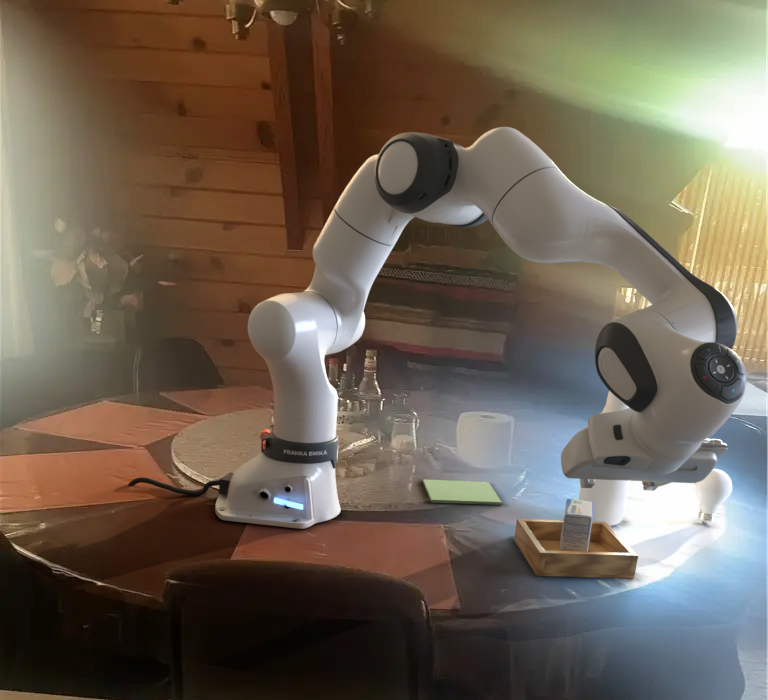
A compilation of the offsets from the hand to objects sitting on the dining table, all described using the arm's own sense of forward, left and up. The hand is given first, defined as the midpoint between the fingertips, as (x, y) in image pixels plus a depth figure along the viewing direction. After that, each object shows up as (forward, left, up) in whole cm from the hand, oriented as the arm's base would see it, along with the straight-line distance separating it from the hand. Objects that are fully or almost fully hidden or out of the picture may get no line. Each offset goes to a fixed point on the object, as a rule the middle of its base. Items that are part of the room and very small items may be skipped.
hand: (616, 484), depth 109 cm
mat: (-13, +42, -17) cm, 47 cm away
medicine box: (0, +12, -17) cm, 21 cm away
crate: (0, +12, -17) cm, 21 cm away
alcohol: (+12, +31, -18) cm, 38 cm away
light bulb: (+33, +30, -18) cm, 48 cm away
